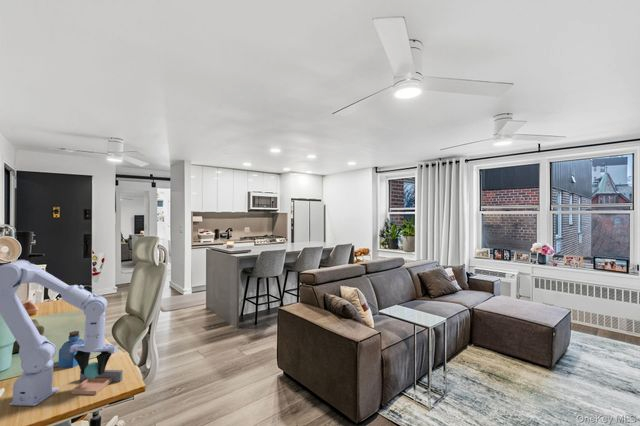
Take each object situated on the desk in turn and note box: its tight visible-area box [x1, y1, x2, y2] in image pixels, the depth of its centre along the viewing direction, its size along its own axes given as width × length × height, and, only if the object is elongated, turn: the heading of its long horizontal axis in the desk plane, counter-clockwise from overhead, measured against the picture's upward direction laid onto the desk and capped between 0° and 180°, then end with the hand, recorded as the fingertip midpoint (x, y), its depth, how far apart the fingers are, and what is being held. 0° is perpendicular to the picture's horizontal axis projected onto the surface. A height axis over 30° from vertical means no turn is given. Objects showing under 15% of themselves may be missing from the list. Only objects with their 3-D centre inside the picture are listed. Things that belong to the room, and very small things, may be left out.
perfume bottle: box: [57, 330, 84, 369], centre depth 124 cm, size 6×6×12 cm
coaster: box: [70, 378, 113, 396], centre depth 108 cm, size 8×8×1 cm
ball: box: [84, 361, 98, 378], centre depth 108 cm, size 5×5×5 cm
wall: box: [79, 369, 124, 383], centre depth 112 cm, size 1×14×4 cm, turn 92°
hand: (93, 373), depth 108 cm, fingers closed on ball, 5 cm apart
